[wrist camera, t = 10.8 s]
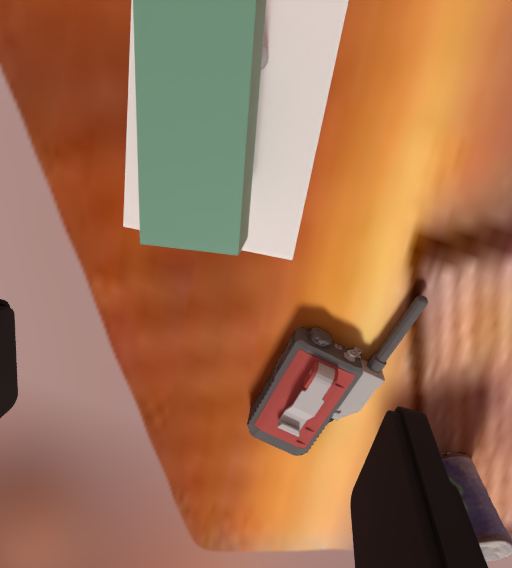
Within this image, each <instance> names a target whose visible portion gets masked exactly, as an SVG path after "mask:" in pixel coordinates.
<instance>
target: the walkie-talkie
mask: <svg viewBox="0 0 512 568" xmlns="http://www.w3.org/2000/svg"><path fill="white" fill-rule="evenodd" d="M427 303H428V300H427V298H426V297H425V296H422V295H420V296H417V297H416V298H415V299H414V301H413V302H412V303H411V305H410V306H409V308H408V309H407V310H406V312H405V313H404V315H403V316H402V318H401V319H400V320H399V322H398V323H397V325H396V326H395V328H394V329H393V330H392V332H391V333H390V335H389V336H388V337H387V339H386V340H385V342H384V343H383V345H382V346H381V347H380V349H379V350H378V352H377V353H376V354H374V355H373V356H372V358H371V359H370V360H369V362H366V361H364V360H362V359H360V358H361V353H362V350H361V349H359V348H358V347H354V348H353V350H352V349H348V348H345V347H343V346H341V345H339V344H337V343H335V342H333V341H332V337H331V335H330V334H329V333H327V332H326V331H325V330H323V329H321V328H316V327H315V328H312V329H311V331H309V330H307V329H305V328H303V327H301V328H298V329H296V331H295V333H294V335H293V336H292V337H291V339H290V340H289V342H288V345H287V347H286V348H285V350H284V352H283V353H282V354H281V356H280V358H279V359H278V362H277V364H276V367H275V368H274V369H273V372H271V376H269V378H268V381H266V385H264V387H263V389H262V390H261V393H259V397H257V399H256V401H255V402H254V405H252V408H251V409H250V413H249V418H248V423H247V425H248V429H249V432H250V434H251V435H252V436H253V437H255V438H257V439H259V440H261V441H264V442H266V443H268V444H270V445H272V446H275V447H277V448H279V449H281V450H283V451H286V452H288V453H290V454H292V455H295V456H297V455H303V454H305V453H307V452H308V450H309V449H310V448H311V446H312V445H313V443H314V441H316V438H318V437H319V434H321V433H322V430H323V429H324V427H325V426H326V425H327V424H328V423H329V422H331V421H333V420H334V419H335V420H338V419H339V418H341V417H344V416H347V415H350V414H353V413H356V412H359V411H360V410H361V409H362V408H363V406H364V405H365V404H366V402H367V401H368V400H369V398H370V397H371V395H372V394H373V393H374V391H375V390H376V389H377V387H380V386H381V385H382V383H383V382H384V381H385V379H384V376H383V372H382V369H383V367H384V366H385V365H386V360H387V359H388V358H389V356H390V355H391V354H392V352H393V351H394V349H395V348H396V347H397V345H398V344H399V342H400V341H401V340H402V338H403V337H404V336H405V334H406V333H407V331H408V330H409V329H410V327H411V326H412V325H413V323H414V322H415V320H416V319H417V318H418V316H419V315H420V314H421V312H422V311H423V309H424V308H425V307H426V305H427Z"/></svg>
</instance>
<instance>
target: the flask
mask: <svg viewBox="0 0 512 568" xmlns="http://www.w3.org/2000/svg"><path fill="white" fill-rule="evenodd" d="M441 458H442V461H443V464H444V466H445V469H446V472H447V474H448V477H449V480H450V482H452V483H453V484H454V485H455V486H456V487H457V489H458V491H459V493H460V495H461V498H462V500H463V503H464V506H465V508H466V511H467V513H468V516H469V519H470V521H471V524H472V527H473V529H474V532H475V534H476V537H477V540H478V542H479V545H480V548H481V550H482V553H483V556H484V558H485V561H492V560H497V559H503V558H506V557H508V556H509V555H510V554H511V553H512V540H511V537H510V535H509V534H508V532H507V530H506V529H505V527H504V526H503V524H502V521H501V520H500V518H499V516H498V513H497V511H496V509H495V507H494V506H493V504H492V502H491V499H490V497H489V495H488V492H487V490H486V488H485V486H484V485H483V483H482V481H481V479H480V476H479V474H478V472H477V470H476V468H475V466H474V464H473V461H472V460H471V459H470V457H469V456H468V455H467V454H461V453H453V452H452V453H451V452H450V453H447V455H441Z"/></svg>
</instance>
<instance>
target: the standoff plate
mask: <svg viewBox="0 0 512 568" xmlns="http://www.w3.org/2000/svg"><path fill="white" fill-rule="evenodd" d="M348 1H349V0H266V11H265V23H264V36H263V49H262V61H261V74H260V87H259V100H258V112H257V125H256V138H255V151H254V163H253V176H252V189H251V202H250V214H249V227H248V238H247V240H246V242H245V244H244V246H243V247H242V249H241V250H244V251H249V252H254V253H259V254H264V255H269V256H274V257H279V258H284V259H289V260H292V259H293V255H294V250H295V245H296V241H297V236H298V232H299V227H300V222H301V218H302V213H303V208H304V204H305V199H306V195H307V190H308V185H309V181H310V176H311V172H312V167H313V162H314V158H315V153H316V148H317V144H318V139H319V135H320V130H321V125H322V121H323V116H324V112H325V107H326V102H327V98H328V93H329V88H330V84H331V79H332V75H333V70H334V65H335V61H336V56H337V51H338V47H339V42H340V38H341V33H342V28H343V24H344V19H345V15H346V10H347V5H348ZM123 227H128V228H133V229H138V230H140V222H139V188H138V154H137V120H136V86H135V52H134V18H133V0H132V5H131V32H130V59H129V86H128V113H127V140H126V168H125V195H124V222H123Z"/></svg>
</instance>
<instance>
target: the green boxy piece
mask: <svg viewBox="0 0 512 568" xmlns="http://www.w3.org/2000/svg"><path fill="white" fill-rule="evenodd" d="M265 11H266V0H133V18H134V52H135V86H136V120H137V154H138V188H139V222H140V244H146V245H154V246H163V247H171V248H179V249H188V250H196V251H205V252H213V253H222V254H230V255H239V253H240V251H241V249H242V247H243V246H244V244H245V242H246V240H247V238H248V227H249V214H250V202H251V189H252V176H253V163H254V151H255V138H256V125H257V112H258V100H259V87H260V74H261V61H262V49H263V36H264V23H265Z"/></svg>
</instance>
